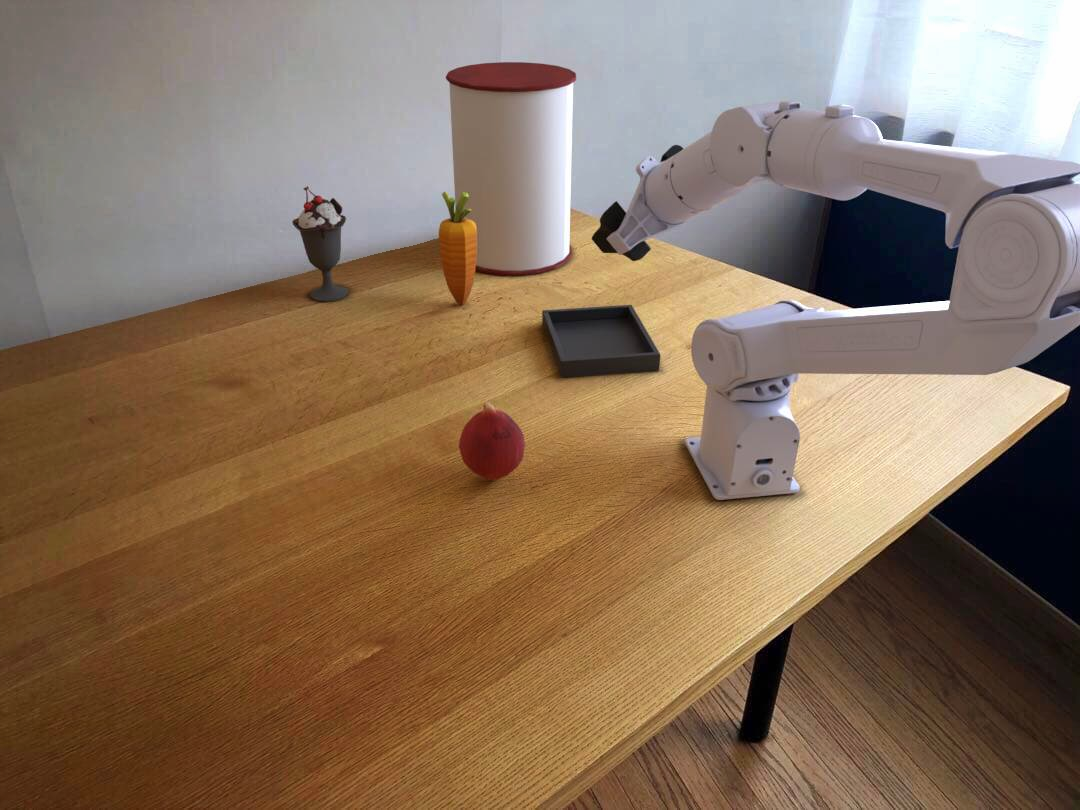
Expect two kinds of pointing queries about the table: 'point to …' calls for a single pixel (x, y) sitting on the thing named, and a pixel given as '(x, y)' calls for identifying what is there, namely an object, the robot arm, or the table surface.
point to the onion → (492, 443)
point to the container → (514, 162)
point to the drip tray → (599, 341)
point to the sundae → (322, 242)
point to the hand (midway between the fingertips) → (622, 220)
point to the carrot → (458, 248)
